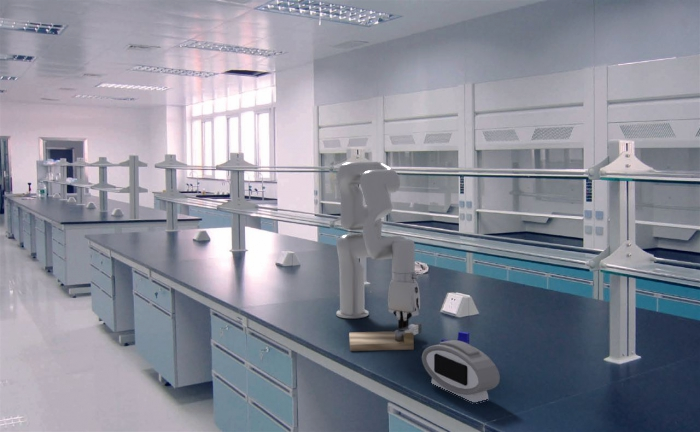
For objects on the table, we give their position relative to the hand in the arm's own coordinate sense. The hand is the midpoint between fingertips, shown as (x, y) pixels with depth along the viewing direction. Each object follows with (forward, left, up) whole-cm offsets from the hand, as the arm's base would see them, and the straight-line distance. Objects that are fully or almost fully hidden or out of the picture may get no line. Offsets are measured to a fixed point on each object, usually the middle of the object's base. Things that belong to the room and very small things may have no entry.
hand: (403, 331), depth 205 cm
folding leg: (+4, +1, -1) cm, 4 cm away
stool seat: (+4, -8, -3) cm, 9 cm away
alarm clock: (+47, +9, -3) cm, 48 cm away
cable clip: (+18, +15, -3) cm, 23 cm away
